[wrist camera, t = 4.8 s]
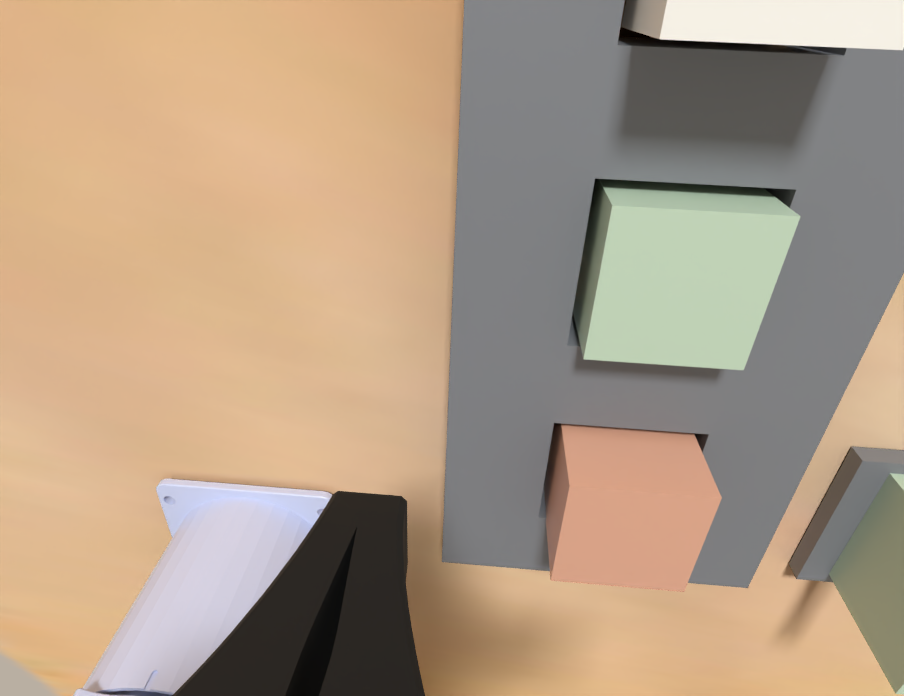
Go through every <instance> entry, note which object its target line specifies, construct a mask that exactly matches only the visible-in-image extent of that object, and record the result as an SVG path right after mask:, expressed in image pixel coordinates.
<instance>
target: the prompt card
mask: <svg viewBox="0 0 904 696" xmlns="http://www.w3.org/2000/svg"><path fill="white" fill-rule="evenodd" d="M789 565H790V567H791V569H792V571H793V573H794V575H795V577H796V579H803V580H814V581H826V582H834V584H835V586H836V588H837V590H838V591H839V593H840V595H841V597H842V599H843V600H844V602H845V604H846V606H847V608H848V609H849V611H850V613H851V615H852V617H853V618H854V620H855V622H856V624H857V625H858V627H859V629H860V631H861V633H862V634H863V636H864V638H865V640H866V642H867V643H868V645H869V647H870V649H871V651H872V652H873V654H874V656H875V658H876V660H877V661H878V663H879V665H880V667H881V668H882V670H883V672H884V674H885V676H886V677H887V679H888V681H889V683H890V685H891V686H892V688H893V690H894V692H895V694H904V450H891V449H878V448H864V447H851V449H850V451H849V453H848V454H847V456H846V458H845V460H844V462H843V464H842V466H841V467H840V469H839V471H838V473H837V475H836V477H835V479H834V480H833V482H832V484H831V486H830V488H829V490H828V492H827V493H826V495H825V497H824V499H823V501H822V503H821V505H820V506H819V508H818V510H817V512H816V514H815V516H814V518H813V520H812V521H811V523H810V525H809V527H808V529H807V531H806V533H805V534H804V536H803V538H802V540H801V542H800V544H799V546H798V547H797V549H796V551H795V553H794V555H793V557H792V559H791V560H790V562H789Z"/></svg>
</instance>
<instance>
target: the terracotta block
mask: <svg viewBox="0 0 904 696" xmlns="http://www.w3.org/2000/svg"><path fill="white" fill-rule="evenodd" d="M544 495H545V507H546V530H547V542H548V554H549V566H550V579H551V580H552V581H563V582H575V583H587V584H598V585H610V586H622V587H633V588H645V589H656V590H668V591H680V592H684V591H685V588H686V586H687V583H688V581H689V578H690V576H691V573H692V571H693V568H694V566H695V563H696V561H697V558H698V556H699V553H700V551H701V549H702V546H703V544H704V541H705V539H706V536H707V534H708V531H709V529H710V526H711V524H712V521H713V519H714V516H715V514H716V511H717V509H718V506H719V504H720V501H721V499H722V497H721V495H720V493H719V490H718V488H717V486H716V483H715V481H714V479H713V476H712V474H711V472H710V469H709V467H708V465H707V462H706V460H705V458H704V455H703V453H702V451H701V448H700V446H699V444H698V442H697V439H696V437H695V435H694V433H683V432H669V431H656V430H642V429H629V428H615V427H602V426H588V425H575V424H561V423H555V426H554V431H553V437H552V443H551V449H550V455H549V461H548V467H547V473H546V479H545V485H544Z"/></svg>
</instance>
